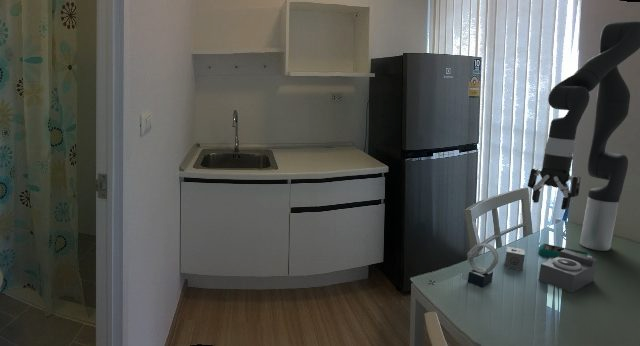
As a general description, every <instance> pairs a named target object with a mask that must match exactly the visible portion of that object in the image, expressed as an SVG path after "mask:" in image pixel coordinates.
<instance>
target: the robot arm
mask: <svg viewBox="0 0 640 346" xmlns="http://www.w3.org/2000/svg"><path fill="white" fill-rule="evenodd" d="M638 50H640V21H636V20H635V21H634V20H633V21H632V20H631V21H629V20H628V21H618V22H616V21H615V22H608V23H607V24H605V25H604V26H603V28H602V30H601V33H600V38H599V54H597V55H595V56H593V57H591V58H590V59H587V60H586V61H585V62H584V63H582V65H581V66H580V67H579V68H578V69H577V70H576V71H575V72H574V74H572V75H570V76H569V77H566V79H563V80H561V81H560V82H559V83H557V84H556V85H554V86H553V88H552V89H551V90H550V92H549V94H548V98H547V99H548V104H549V106H550V107H551V108H553V109H555V110H562V111H567V112H566V114H565V115H564V116H563V117H555V118H553V119H552V120H551V122H550V126H549V132H548V138H547V141H546V143H545V144H546V145H545V148H544V156H543V162H542V168H541V169H539V168H537V167H536V168H531V170H530V174H529V176H528V177H529V178H528V182H527V187H528V188H531V189H532V190H533V191H532V197H531V199H532V202H533V204H534V203H535V204H537V203H539V202H540V196H541V189H542V188H543V187H545V186H547V187H553V188H557V189H558V188H559V190H560V191H559V192H561V193H562V195H563V197H562V203H561V207H560V209H561V210H562V211H565V210H567V209H568V208H569V207H570V203H571V198H575V197H579V195H580V194H579V193H580V185H581V176H572V175H571V174H570V172H571V167H572V163H573V162H572V161H573V157H574V152H575V139H576V134H577V130H578V129H577V128H578V126H579V124H580V121H581V120H582V116H583V115H584V112H585V111H586V110H587V108H588V105H589V103H590V92H592V91H593V90H594V89H595V88H596V87H598V88H597V94H596V100H595V109H594V110H595V112H594V113H595V114H594V123H593V124H594V126H593V134H592V140H591V145H590V150H589V156H588V161H587V173H588V175H589V176H590V177H591V178H596V179H600V180H605V181H606V180H607V181H608V182H607V184H606V185H604V186H601V187H600V186H599V187H592V188H590V189H589V190H588V194H587V201H586V207H585V211H584V218H583V223H582V229H581V232H580V240H579V245H580V246H582V247H584V248H586V249H590V250H594V251H600V252H605V251H606V252H607V251H611V246H612V239H613V235H614V229H615V224H616V218H617V214H618V210H619V208H618V207H619V204H620V199H621V195H622V194H623V193H622V192H623V188H624V183H625V179H626V176H627V173H628V166H629V159H628V157H627V155H625V154H620V153H615V152H608V151H607V152H606V147H607V143H608V141H609V139H610V137H611V136H612V135H613V133H614V132H615V130H617V129H618V128H619V127H620V125H621V124H622V123H623V122H624V121H625V119H626V118H627V116H628V115H629V111H630V110H629V109H630V100H631V93H630V89H629V87H628V85H627V83H626V82H625V79H624V78H623V77H622V75H621V73H620V71H619V68H618V66H619V65H620V64H621V63H623V62H624V61H625V60H627V59H628V58H630V57H631V56H632V55H634V54H635V53H636V52H637V51H638ZM539 176H540V177H541V179H540V180H539V181H538V182H537V179H538V177H539ZM569 181H570V184H571V190H570V187H569V185H568V183H567V182H569ZM536 182H537V183H536Z"/></svg>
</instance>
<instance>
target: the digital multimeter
mask: <svg viewBox="0 0 640 346" xmlns="http://www.w3.org/2000/svg"><path fill="white" fill-rule="evenodd" d="M564 249H566V250H569V251H572V252H576V253H579V254H582V255H585V256H592V254H591V253H589V252H588V251H587V252H586V251H582V250H577V249H571V248H567V247H566V248H565V247H563V246H556V245H554V244H553V245H552V244H549V243H548V244H547V243H543V244H540V245H539V247H538V255H539V256H541V257H546V258H550V259H554V258H556V257H558V256H559V255H560V251H561V250H564Z"/></svg>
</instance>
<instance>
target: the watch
mask: <svg viewBox="0 0 640 346" xmlns="http://www.w3.org/2000/svg"><path fill="white" fill-rule="evenodd" d="M483 248H486V249H487V250H489V251H490V252H491V254H492V256H493V260H492V263H490V266H489V267H488V268H484V267H480V266H477V264H476V263H475V261H474V258H475V257H476V256H477V255H478V254H480V253H481V251H482V250H483ZM466 256H467V262H468V264H469V266H470V268H471V269H472V270H470V271H468V276H467V277H468V278H467V283H468V284H471V285H475V286H477V287H480V288H481V289H483V288H484V287H486V286H488V285H489V284H491V283H492V282H493V274H494V271H492V270H494V269H495V267H496V266H497V265H498V264H499V253H498V252H497V249H496V248H495V247H494V246H492V245H491V244H489V243H486V242H482V243H481V242H478V243H476V244H475V245H474V246H473V247H471V249H470V250H469V251H468V252H467V254H466Z"/></svg>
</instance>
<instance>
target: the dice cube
mask: <svg viewBox="0 0 640 346" xmlns="http://www.w3.org/2000/svg"><path fill="white" fill-rule="evenodd" d="M505 251H506V253H505V260H504V266H505V267H504V268H506V267H509V268H508V269H511V268H514V269H513V270H516V269H519V270H518V271H522V270H523V269H524V262H525V256H526V250H525V249H523V248H517V247H513V246H506V250H505Z"/></svg>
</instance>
